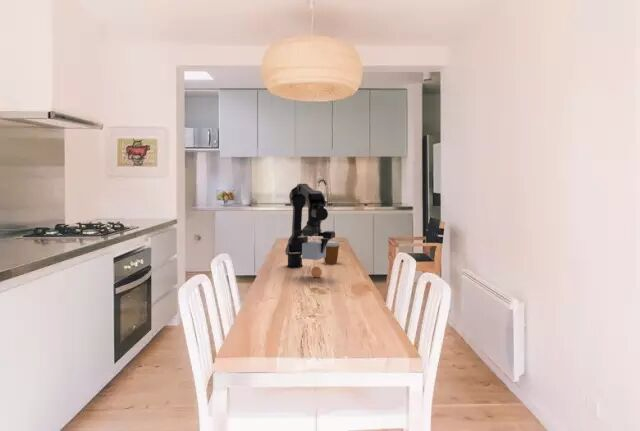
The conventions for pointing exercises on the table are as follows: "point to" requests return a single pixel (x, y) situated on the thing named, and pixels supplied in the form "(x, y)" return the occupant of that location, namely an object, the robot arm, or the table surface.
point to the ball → (316, 272)
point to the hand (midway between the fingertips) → (314, 252)
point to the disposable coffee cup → (331, 252)
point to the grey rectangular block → (312, 250)
